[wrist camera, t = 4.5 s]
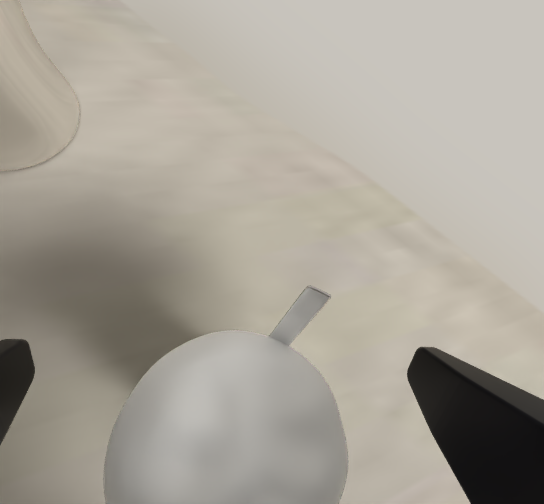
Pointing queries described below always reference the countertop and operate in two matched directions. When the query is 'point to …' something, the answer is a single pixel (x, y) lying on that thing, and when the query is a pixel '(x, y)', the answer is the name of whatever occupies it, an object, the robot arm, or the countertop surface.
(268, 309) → the countertop surface
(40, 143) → the beer glass
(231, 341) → the milkshake
